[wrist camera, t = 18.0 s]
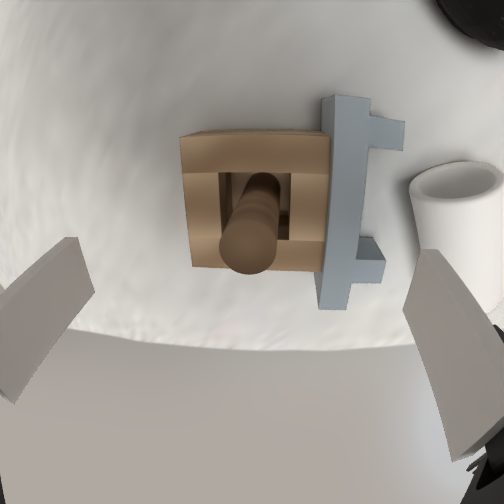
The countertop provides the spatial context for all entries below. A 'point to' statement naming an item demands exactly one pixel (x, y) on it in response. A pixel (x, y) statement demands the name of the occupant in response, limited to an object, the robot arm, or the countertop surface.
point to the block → (236, 177)
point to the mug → (464, 223)
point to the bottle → (477, 19)
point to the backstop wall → (350, 197)
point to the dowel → (253, 227)
